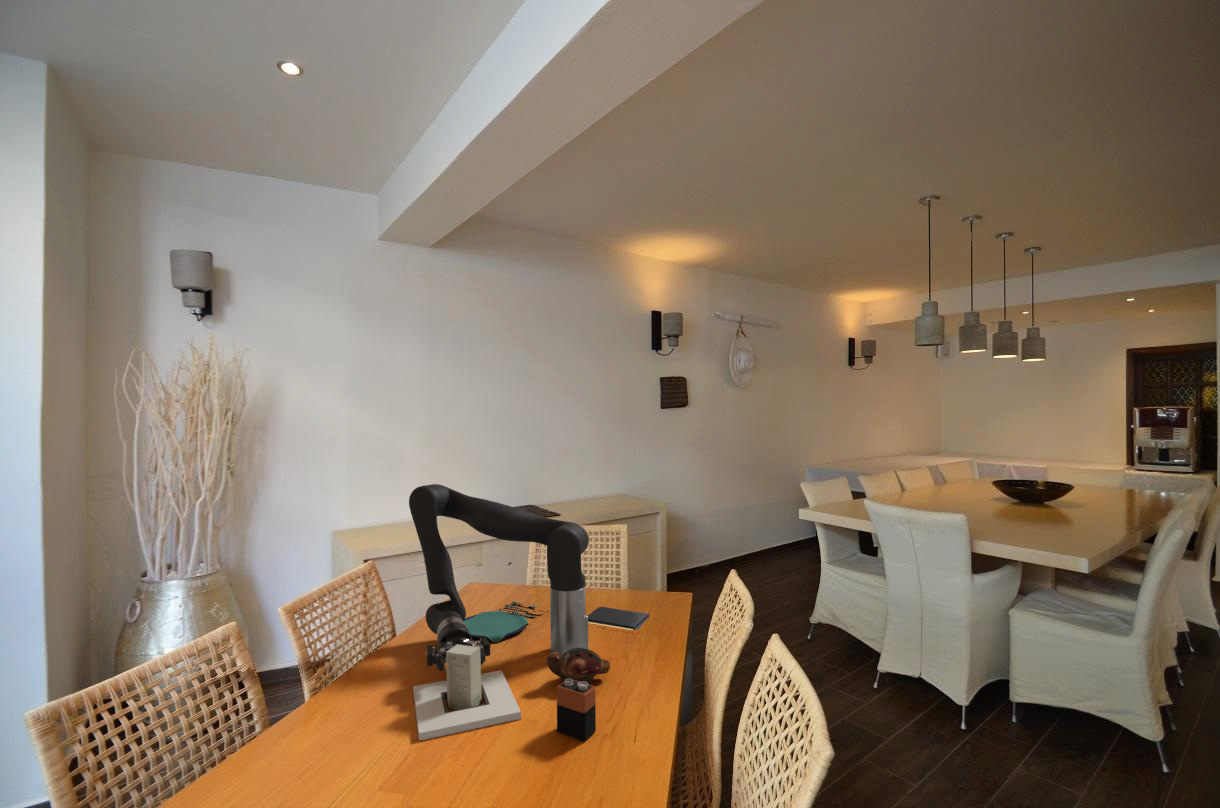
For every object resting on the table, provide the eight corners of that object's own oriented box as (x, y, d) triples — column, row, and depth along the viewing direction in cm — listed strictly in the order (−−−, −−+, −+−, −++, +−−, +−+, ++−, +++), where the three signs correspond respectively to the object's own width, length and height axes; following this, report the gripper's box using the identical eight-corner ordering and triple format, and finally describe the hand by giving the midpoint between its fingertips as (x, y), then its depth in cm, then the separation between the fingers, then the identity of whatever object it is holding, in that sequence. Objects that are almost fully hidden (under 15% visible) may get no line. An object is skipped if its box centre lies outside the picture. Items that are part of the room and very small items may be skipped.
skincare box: (482, 702, 123) (482, 646, 123) (470, 713, 119) (470, 655, 119) (457, 698, 125) (457, 643, 125) (445, 708, 121) (445, 651, 121)
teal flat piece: (442, 635, 161) (442, 627, 161) (509, 604, 187) (509, 597, 187) (497, 649, 151) (497, 641, 151) (559, 615, 177) (559, 607, 177)
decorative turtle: (540, 680, 133) (542, 645, 134) (600, 673, 139) (601, 639, 140) (552, 697, 124) (553, 660, 125) (615, 689, 130) (616, 653, 131)
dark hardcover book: (656, 613, 173) (636, 630, 159) (656, 619, 173) (636, 637, 159) (598, 603, 182) (575, 619, 168) (599, 609, 182) (575, 625, 168)
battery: (584, 743, 108) (584, 690, 108) (555, 732, 112) (555, 682, 112) (596, 732, 112) (596, 681, 112) (568, 722, 115) (568, 673, 115)
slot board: (501, 676, 135) (501, 670, 135) (520, 718, 117) (520, 711, 117) (413, 693, 128) (413, 686, 128) (418, 741, 109) (418, 733, 109)
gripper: (423, 626, 138) (428, 652, 123) (482, 617, 144) (494, 641, 129) (423, 656, 138) (429, 687, 123) (482, 647, 143) (494, 674, 128)
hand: (462, 663), depth 126 cm, fingers open, 8 cm apart
